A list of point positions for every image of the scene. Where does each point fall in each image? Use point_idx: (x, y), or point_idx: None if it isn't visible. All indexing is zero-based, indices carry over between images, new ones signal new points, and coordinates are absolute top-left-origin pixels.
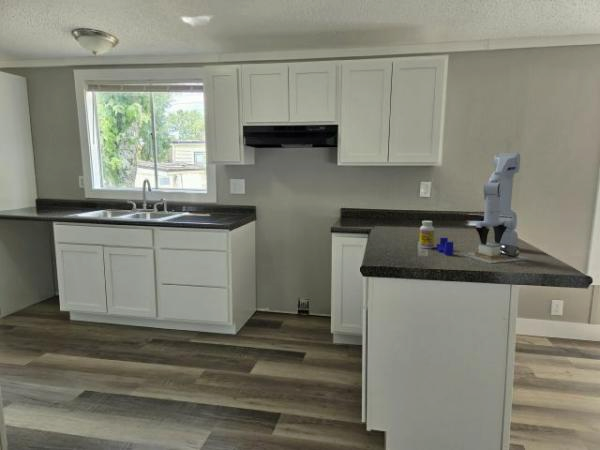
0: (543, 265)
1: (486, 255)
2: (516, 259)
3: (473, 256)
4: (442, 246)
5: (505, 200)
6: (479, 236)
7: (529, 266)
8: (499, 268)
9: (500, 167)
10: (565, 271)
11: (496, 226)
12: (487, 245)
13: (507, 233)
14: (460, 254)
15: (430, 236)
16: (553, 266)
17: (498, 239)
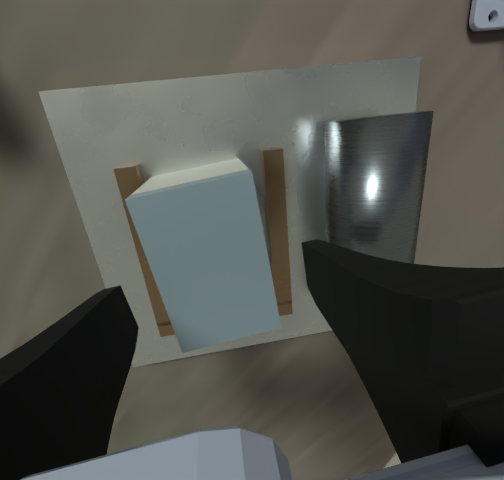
0: (357, 404)
1: (150, 297)
2: (317, 328)
3: (84, 219)
4: None
5: None
6: (33, 343)
7: (287, 415)
8: (125, 438)
9: None
10: (350, 474)
11: (433, 404)
12: (167, 305)
13: None
14: (28, 40)
15: None
16: (379, 419)
17: (319, 301)
